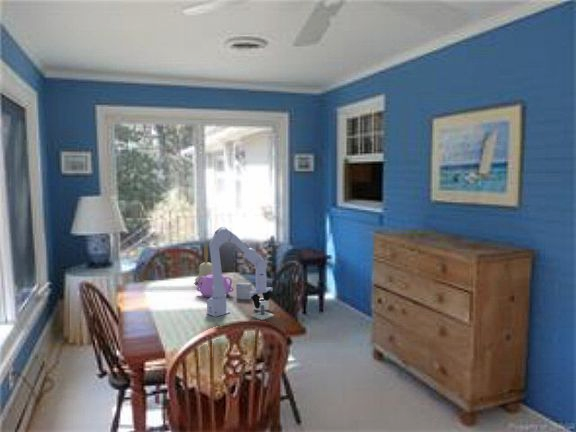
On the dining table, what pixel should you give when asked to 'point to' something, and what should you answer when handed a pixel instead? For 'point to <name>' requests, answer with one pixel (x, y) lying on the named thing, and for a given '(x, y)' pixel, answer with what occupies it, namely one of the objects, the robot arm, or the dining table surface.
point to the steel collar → (263, 302)
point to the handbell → (204, 266)
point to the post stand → (262, 314)
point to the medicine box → (243, 290)
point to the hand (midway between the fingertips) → (261, 306)
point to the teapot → (207, 285)
